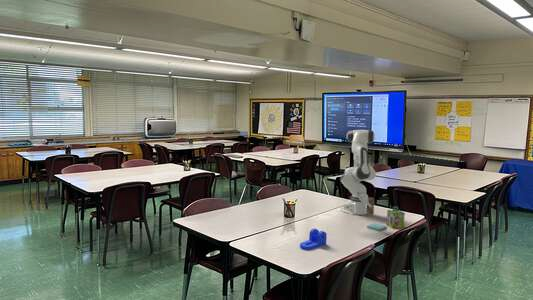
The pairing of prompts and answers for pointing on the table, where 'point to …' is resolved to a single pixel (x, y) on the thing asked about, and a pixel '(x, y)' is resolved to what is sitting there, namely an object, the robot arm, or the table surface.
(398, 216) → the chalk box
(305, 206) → the table surface
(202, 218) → the table surface
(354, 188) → the robot arm
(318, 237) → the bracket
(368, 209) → the walnut block
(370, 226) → the teal pad
